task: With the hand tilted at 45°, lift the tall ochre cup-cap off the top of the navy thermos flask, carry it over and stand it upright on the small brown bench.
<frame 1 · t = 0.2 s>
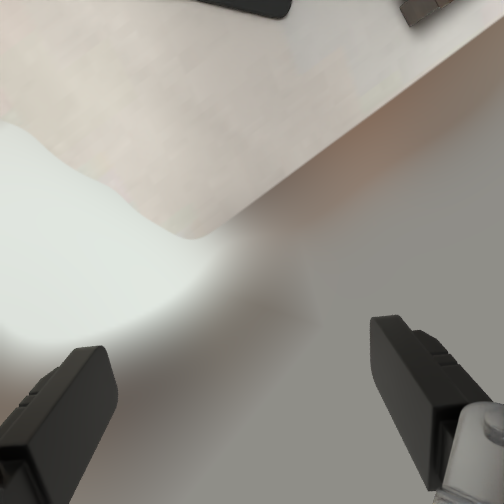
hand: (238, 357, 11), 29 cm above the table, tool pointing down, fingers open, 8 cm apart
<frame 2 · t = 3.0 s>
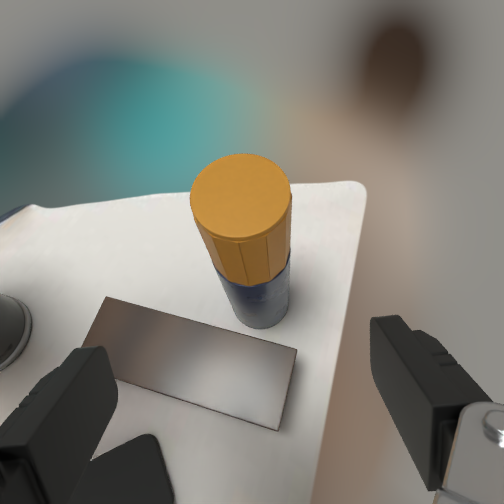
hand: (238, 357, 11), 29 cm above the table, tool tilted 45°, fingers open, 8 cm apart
flask: (260, 301, 41), on the table
small brown bench: (199, 367, 39), on the table
cap: (250, 249, 29), point 14 cm above the table, touching flask
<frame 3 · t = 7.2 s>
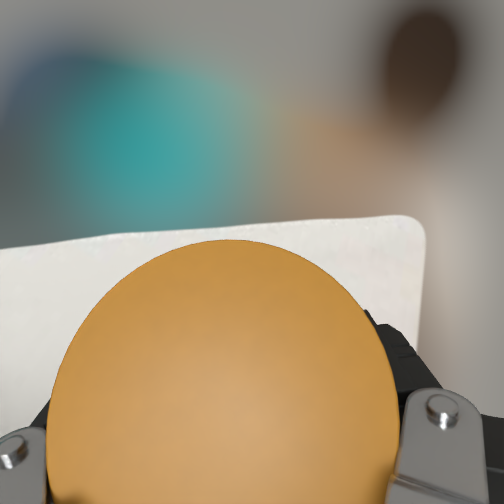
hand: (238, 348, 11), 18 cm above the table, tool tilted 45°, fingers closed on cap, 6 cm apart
cap: (253, 409, 13), point 14 cm above the table, touching flask, gripper
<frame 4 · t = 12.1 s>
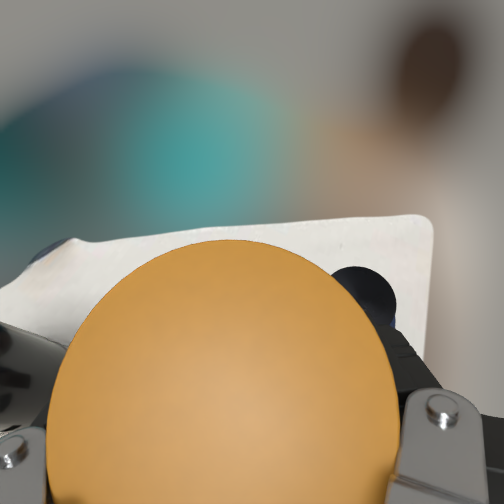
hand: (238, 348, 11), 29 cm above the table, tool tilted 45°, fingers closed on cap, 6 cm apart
flask: (328, 349, 39), on the table
cap: (253, 409, 13), point 25 cm above the table, touching gripper
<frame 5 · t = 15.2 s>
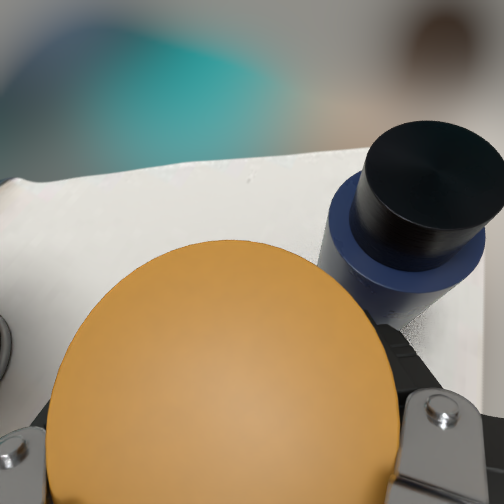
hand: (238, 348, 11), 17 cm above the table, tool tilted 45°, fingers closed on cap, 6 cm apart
flask: (350, 311, 28), on the table
cap: (253, 409, 13), point 13 cm above the table, touching gripper
when the fingers open (11 cm above the table, at t = 17.5 s): cap stays where it is, resting on small brown bench.
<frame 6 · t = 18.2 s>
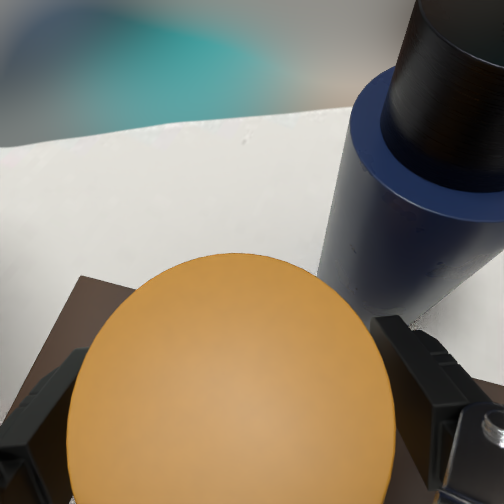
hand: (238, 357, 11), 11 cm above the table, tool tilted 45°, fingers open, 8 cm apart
flask: (366, 289, 23), on the table
small brown bench: (264, 414, 20), on the table
cap: (256, 411, 14), point 7 cm above the table, touching small brown bench
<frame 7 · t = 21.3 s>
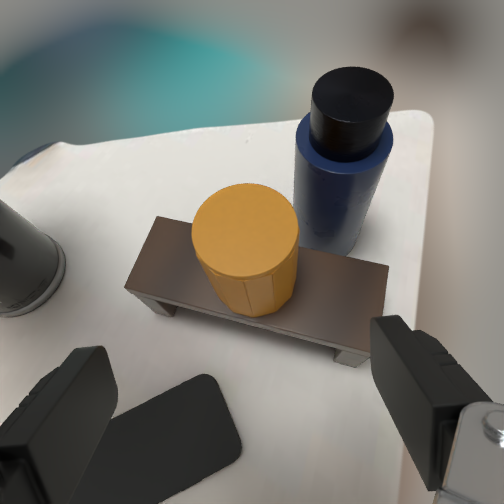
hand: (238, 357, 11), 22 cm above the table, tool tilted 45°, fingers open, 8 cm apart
flask: (323, 233, 37), on the table
phone: (147, 453, 29), on the table
small brown bench: (259, 303, 34), on the table
cap: (254, 277, 28), point 7 cm above the table, touching small brown bench
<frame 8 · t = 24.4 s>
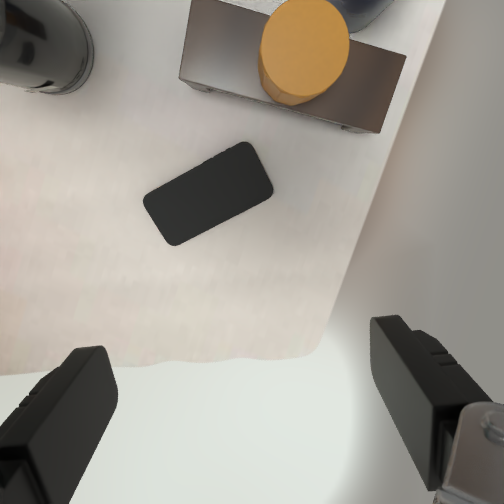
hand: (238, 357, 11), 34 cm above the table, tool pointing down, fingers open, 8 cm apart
phone: (208, 195, 43), on the table
small brown bench: (284, 78, 39), on the table
cap: (292, 68, 32), point 7 cm above the table, touching small brown bench
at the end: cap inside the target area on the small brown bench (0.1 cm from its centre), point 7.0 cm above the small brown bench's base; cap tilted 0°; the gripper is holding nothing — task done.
